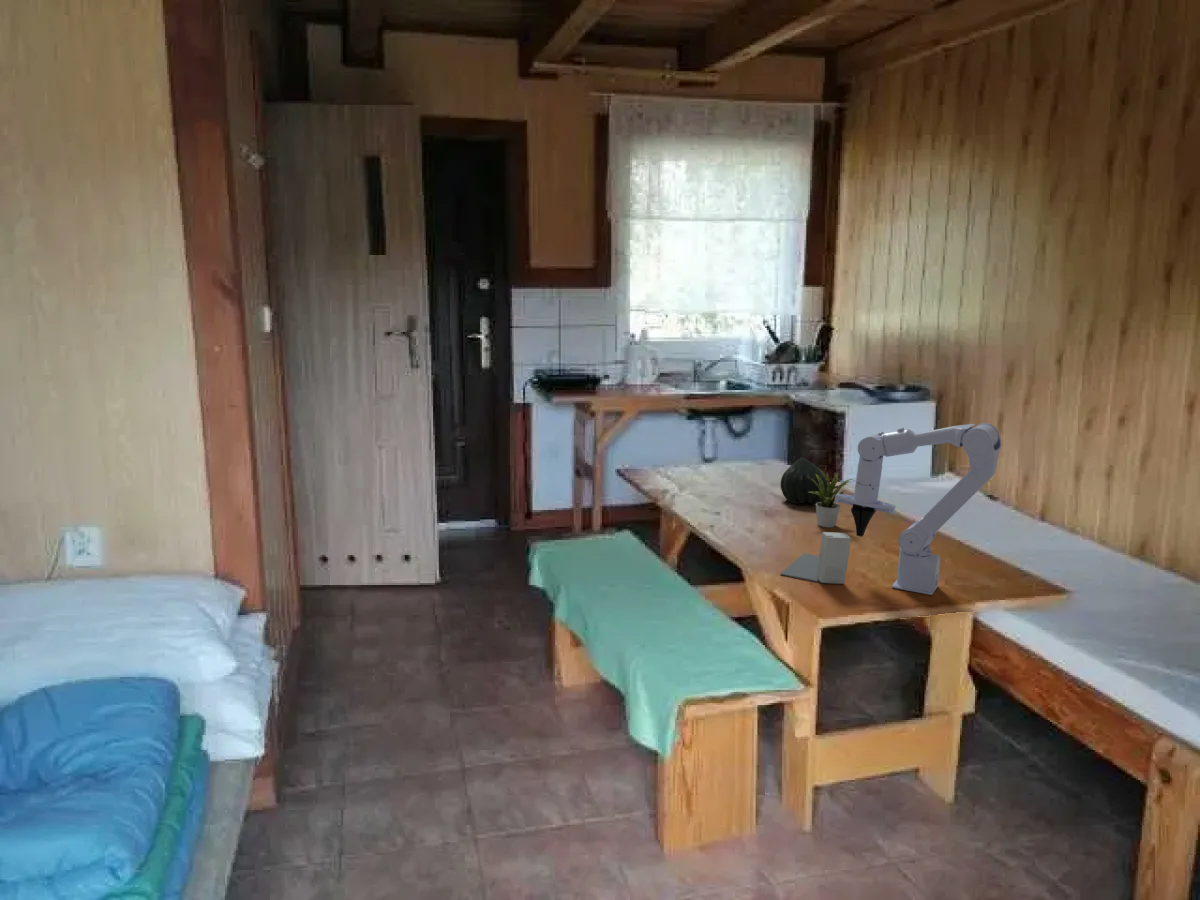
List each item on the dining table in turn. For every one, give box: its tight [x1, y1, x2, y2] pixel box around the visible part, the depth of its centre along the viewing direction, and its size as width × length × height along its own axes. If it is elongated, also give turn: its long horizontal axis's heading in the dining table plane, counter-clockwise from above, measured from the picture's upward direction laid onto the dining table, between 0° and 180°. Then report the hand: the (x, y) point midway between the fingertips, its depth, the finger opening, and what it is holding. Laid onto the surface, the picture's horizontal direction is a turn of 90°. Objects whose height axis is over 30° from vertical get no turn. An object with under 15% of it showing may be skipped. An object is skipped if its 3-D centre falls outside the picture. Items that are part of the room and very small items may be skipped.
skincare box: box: [817, 531, 852, 585], centre depth 228 cm, size 6×4×12 cm
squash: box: [780, 457, 827, 506], centre depth 303 cm, size 14×15×15 cm
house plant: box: [808, 470, 854, 528], centre depth 275 cm, size 14×14×16 cm
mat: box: [779, 552, 820, 583], centre depth 239 cm, size 10×20×1 cm, turn 151°
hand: (860, 535), depth 233 cm, fingers closed
